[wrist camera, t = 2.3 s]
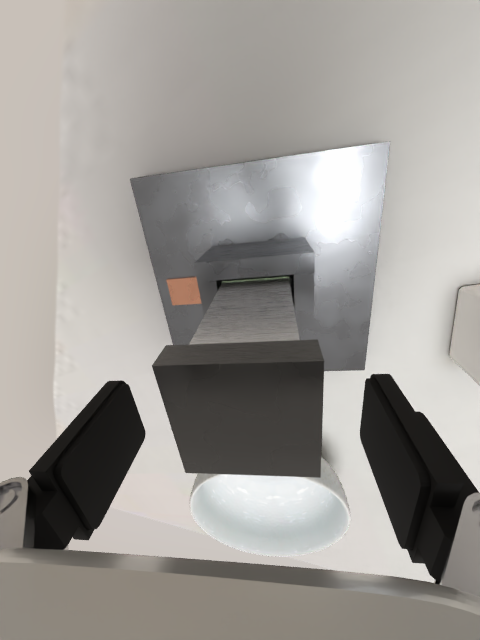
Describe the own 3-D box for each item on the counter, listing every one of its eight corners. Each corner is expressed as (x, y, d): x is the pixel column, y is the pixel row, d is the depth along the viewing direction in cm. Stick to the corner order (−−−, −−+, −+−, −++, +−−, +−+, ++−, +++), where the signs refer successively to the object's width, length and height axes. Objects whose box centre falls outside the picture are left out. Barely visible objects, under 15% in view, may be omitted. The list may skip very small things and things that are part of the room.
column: (225, 258, 21) (151, 366, 8) (291, 252, 20) (324, 360, 7) (233, 317, 23) (185, 472, 10) (293, 314, 22) (320, 477, 10)
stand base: (139, 179, 21) (81, 175, 15) (381, 144, 18) (438, 121, 12) (185, 365, 29) (160, 414, 22) (359, 360, 26) (387, 415, 20)
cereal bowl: (199, 484, 38) (184, 542, 32) (209, 398, 30) (193, 453, 24) (315, 507, 37) (324, 571, 31) (356, 426, 30) (378, 490, 24)
